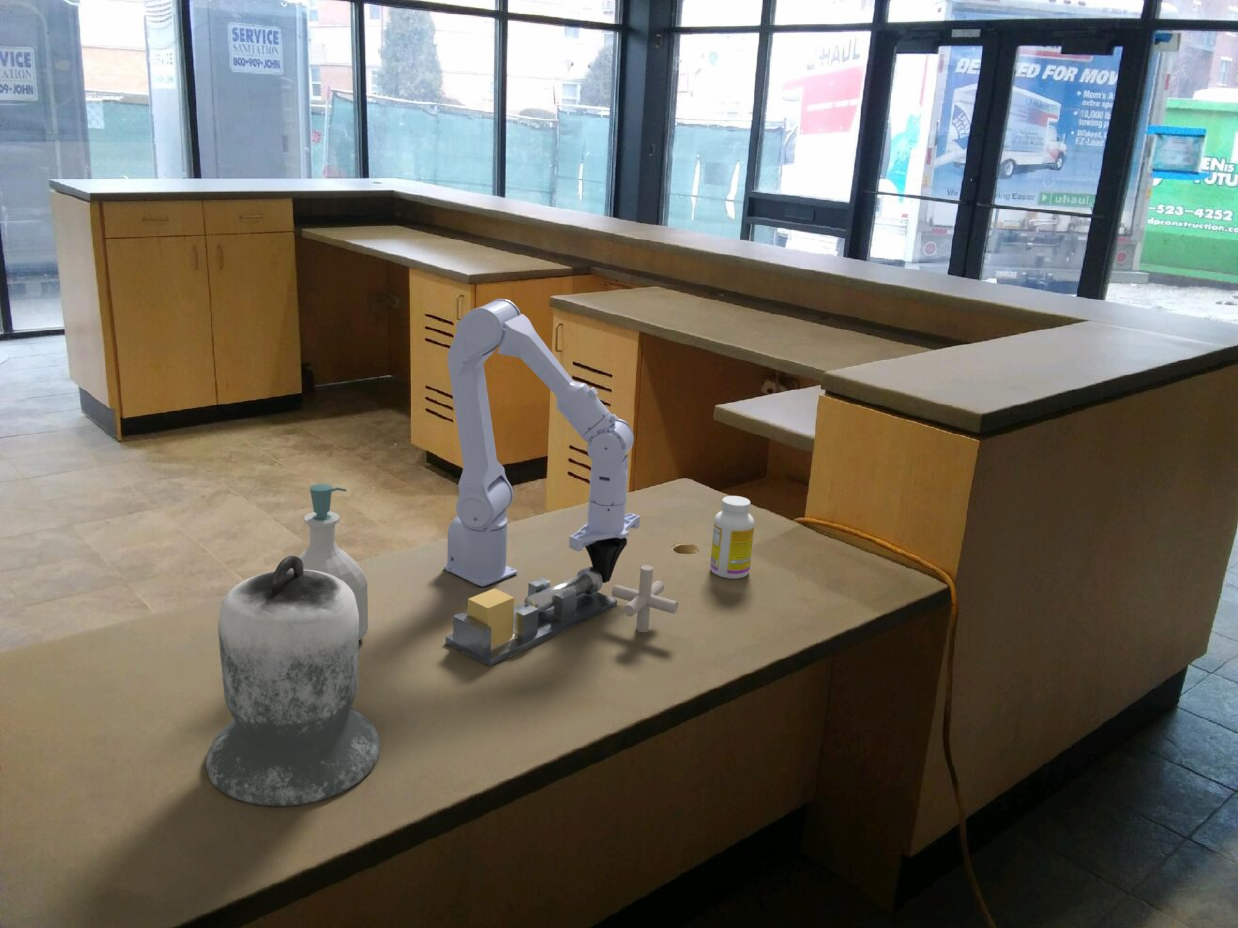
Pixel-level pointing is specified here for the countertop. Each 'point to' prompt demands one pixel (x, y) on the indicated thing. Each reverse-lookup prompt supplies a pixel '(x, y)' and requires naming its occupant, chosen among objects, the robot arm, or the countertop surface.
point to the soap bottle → (333, 551)
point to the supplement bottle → (732, 539)
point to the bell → (290, 690)
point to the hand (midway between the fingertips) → (602, 579)
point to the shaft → (582, 583)
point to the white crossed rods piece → (644, 598)
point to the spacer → (494, 613)
